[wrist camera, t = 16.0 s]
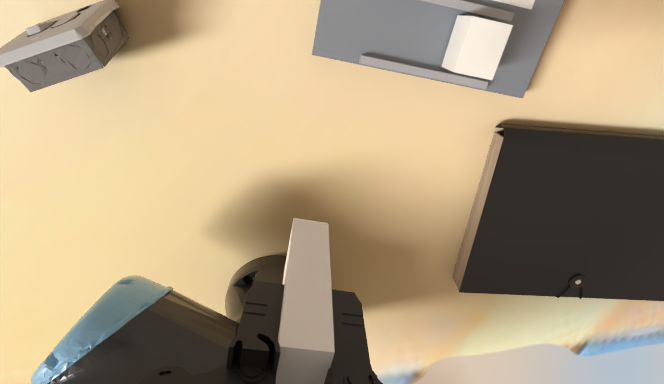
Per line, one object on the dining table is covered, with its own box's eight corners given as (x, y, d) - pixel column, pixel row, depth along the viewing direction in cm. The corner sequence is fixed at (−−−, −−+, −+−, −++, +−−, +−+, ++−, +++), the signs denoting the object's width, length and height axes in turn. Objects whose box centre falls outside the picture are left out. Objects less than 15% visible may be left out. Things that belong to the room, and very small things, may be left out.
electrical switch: (117, -4, 37) (66, 4, 29) (145, 47, 40) (105, 68, 32) (36, 24, 38) (-35, 40, 30) (68, 73, 41) (11, 99, 33)
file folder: (459, 295, 52) (509, 129, 41) (450, 276, 55) (493, 120, 45) (676, 304, 54) (775, 149, 43) (653, 285, 57) (739, 138, 47)
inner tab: (476, 73, 39) (492, 80, 36) (441, 66, 39) (453, 72, 35) (494, 23, 37) (513, 25, 34) (457, 15, 37) (472, 15, 33)
